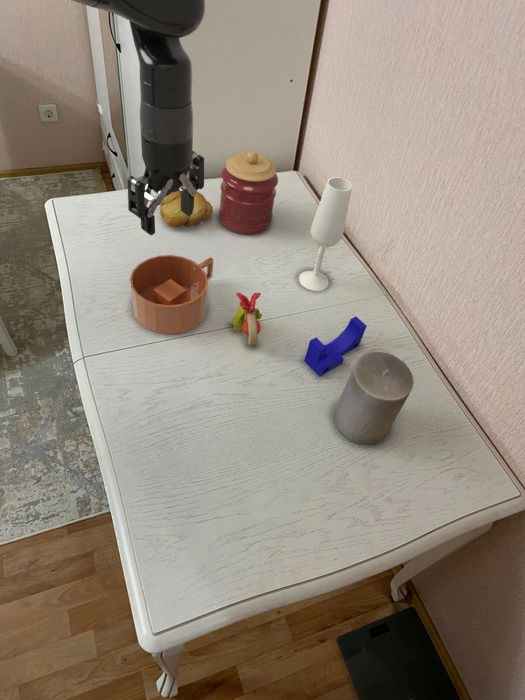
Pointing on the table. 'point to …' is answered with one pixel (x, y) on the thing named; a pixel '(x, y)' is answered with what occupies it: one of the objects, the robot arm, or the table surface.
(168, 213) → the bread roll
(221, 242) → the table surface
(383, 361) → the pillar candle
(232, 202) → the kitchen canister
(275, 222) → the table surface
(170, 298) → the orange block
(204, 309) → the measuring cup
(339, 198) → the champagne flute
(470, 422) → the table surface
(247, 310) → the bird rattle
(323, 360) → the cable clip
